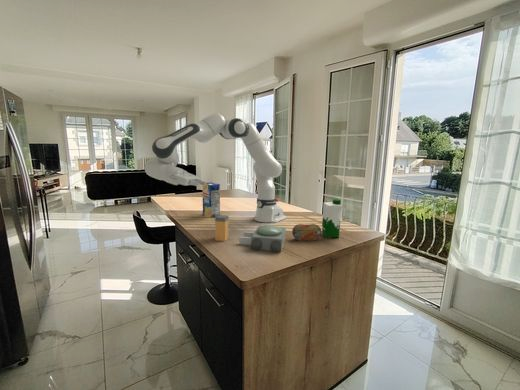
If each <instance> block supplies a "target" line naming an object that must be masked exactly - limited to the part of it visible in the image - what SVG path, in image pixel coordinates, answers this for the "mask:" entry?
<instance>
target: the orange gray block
mask: <svg viewBox="0 0 520 390" xmlns="http://www.w3.org/2000/svg"><path fill="white" fill-rule="evenodd" d="M214 221H215V223H214V224H215V225H214V226H215V228H214V229H215V241H219V242H220V241H221V242H226V241H227V239H229V215H227V214H226V215H225V214H220V215H218V216H216V217H215V220H214Z"/></svg>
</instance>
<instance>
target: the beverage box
mask: <svg viewBox="0 0 520 390" xmlns="http://www.w3.org/2000/svg"><path fill="white" fill-rule="evenodd" d="M201 186H202V187H201V188H202V215H203V216H205V217H208V218H210V219H214V218H215V217H216V216H218V215H221V184H219V183H216V182H211V181H210V182H205V185H201Z"/></svg>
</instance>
